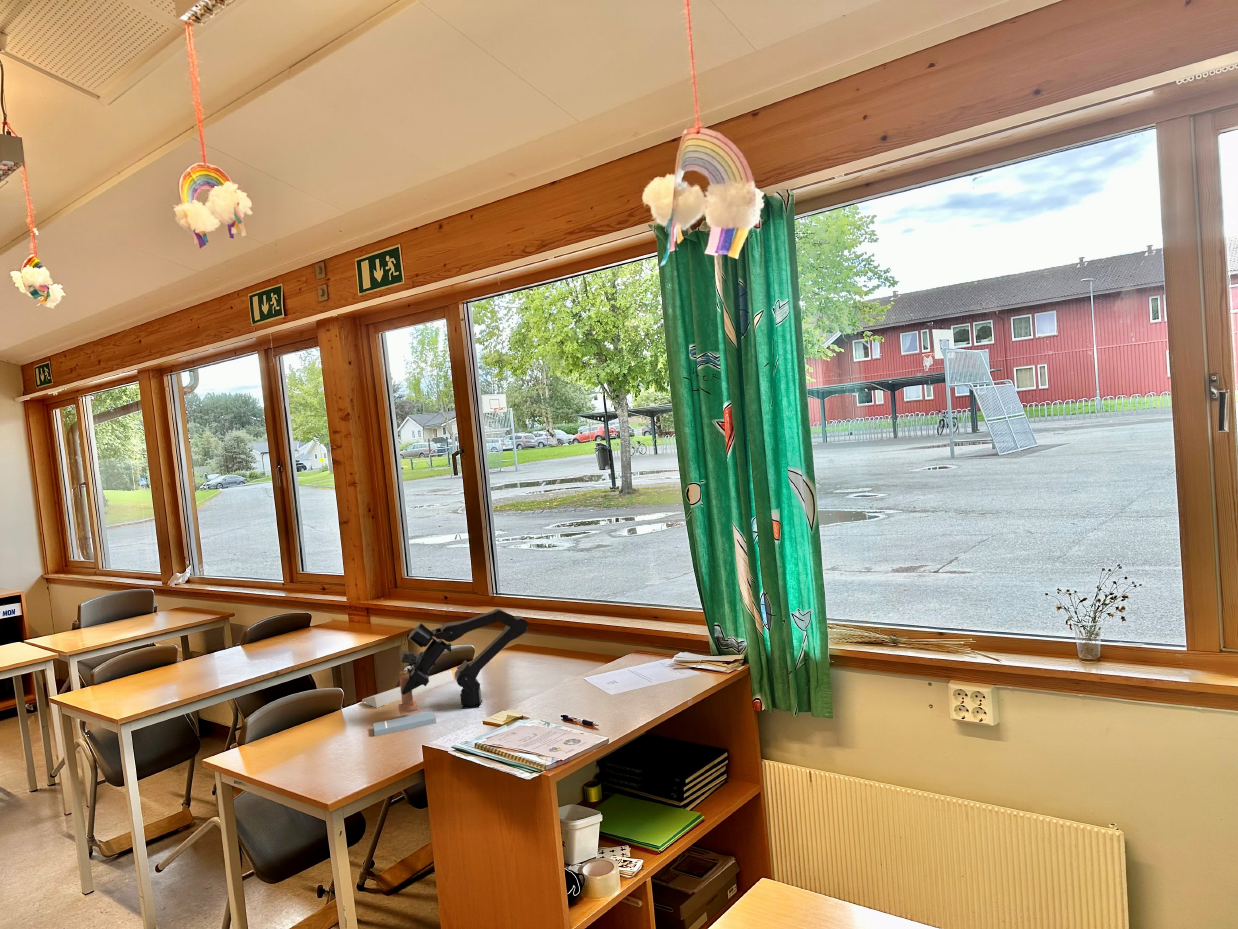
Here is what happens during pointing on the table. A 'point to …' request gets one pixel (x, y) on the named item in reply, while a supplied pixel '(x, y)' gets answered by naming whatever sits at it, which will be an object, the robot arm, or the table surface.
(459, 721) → the table surface
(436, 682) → the decorative molding
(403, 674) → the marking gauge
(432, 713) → the board
